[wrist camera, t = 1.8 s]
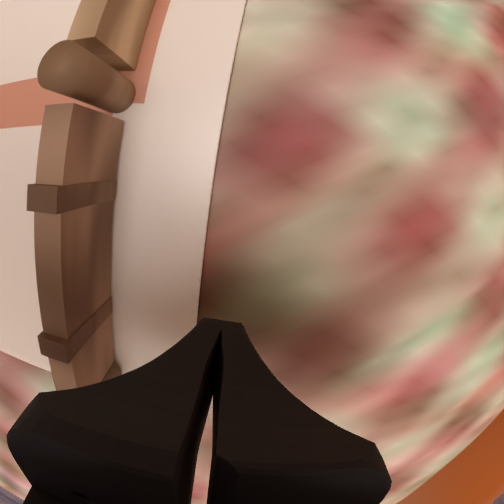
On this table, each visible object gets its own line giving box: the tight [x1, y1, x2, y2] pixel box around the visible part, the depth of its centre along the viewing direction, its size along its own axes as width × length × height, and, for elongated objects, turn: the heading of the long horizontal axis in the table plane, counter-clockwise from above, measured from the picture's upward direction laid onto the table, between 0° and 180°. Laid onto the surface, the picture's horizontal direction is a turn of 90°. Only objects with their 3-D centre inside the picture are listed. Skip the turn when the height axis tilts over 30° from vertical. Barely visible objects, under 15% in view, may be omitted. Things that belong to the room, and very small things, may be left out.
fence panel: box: [27, 103, 124, 391], centre depth 9 cm, size 11×2×4 cm, turn 171°
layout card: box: [0, 0, 247, 375], centre depth 9 cm, size 19×26×1 cm
